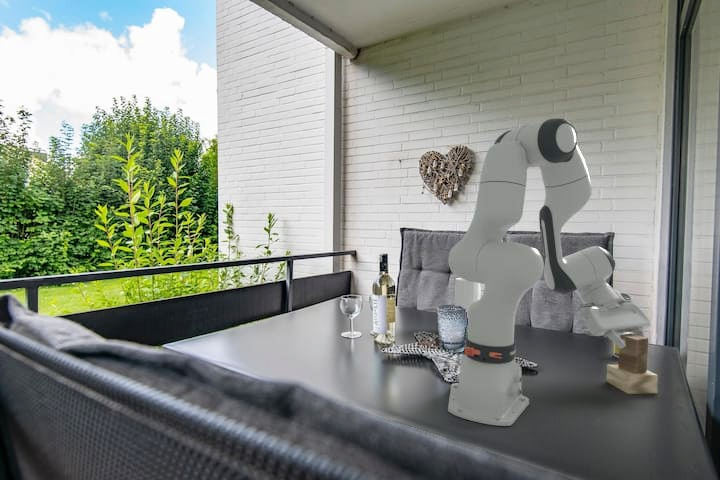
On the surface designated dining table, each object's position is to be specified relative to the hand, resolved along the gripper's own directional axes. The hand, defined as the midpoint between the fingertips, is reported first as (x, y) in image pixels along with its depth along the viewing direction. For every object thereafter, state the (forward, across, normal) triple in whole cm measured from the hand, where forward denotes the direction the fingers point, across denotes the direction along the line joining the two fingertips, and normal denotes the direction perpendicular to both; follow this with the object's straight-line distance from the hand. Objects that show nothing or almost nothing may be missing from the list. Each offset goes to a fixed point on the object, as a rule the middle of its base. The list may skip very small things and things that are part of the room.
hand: (635, 346), depth 106 cm
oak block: (+8, 0, +9) cm, 12 cm away
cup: (-35, -10, +51) cm, 63 cm away
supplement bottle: (-6, +22, +22) cm, 32 cm away
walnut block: (+4, 0, +5) cm, 7 cm away
